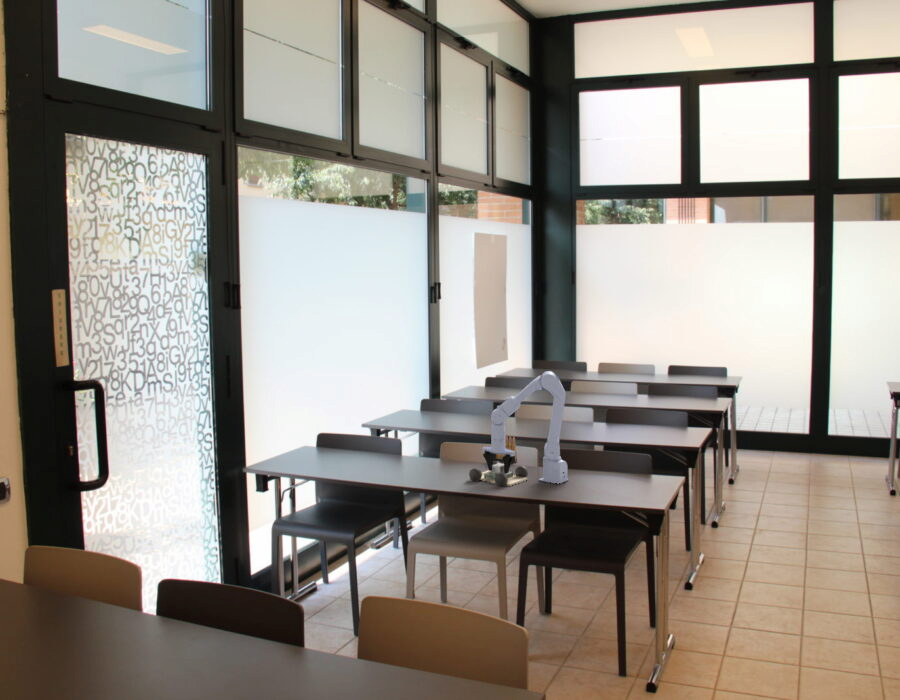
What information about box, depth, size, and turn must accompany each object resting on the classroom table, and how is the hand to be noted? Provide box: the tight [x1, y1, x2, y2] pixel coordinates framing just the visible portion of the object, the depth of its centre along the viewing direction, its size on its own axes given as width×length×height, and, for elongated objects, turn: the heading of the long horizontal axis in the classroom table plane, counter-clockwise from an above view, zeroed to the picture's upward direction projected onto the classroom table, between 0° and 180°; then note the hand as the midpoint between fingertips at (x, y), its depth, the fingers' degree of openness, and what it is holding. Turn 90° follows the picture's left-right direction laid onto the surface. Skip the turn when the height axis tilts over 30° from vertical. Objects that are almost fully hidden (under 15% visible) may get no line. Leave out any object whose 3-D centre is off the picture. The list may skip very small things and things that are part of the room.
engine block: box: [492, 462, 507, 475], centre depth 347 cm, size 4×5×5 cm
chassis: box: [468, 461, 529, 487], centre depth 347 cm, size 20×16×5 cm
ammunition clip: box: [493, 434, 518, 464], centre depth 377 cm, size 11×2×12 cm, turn 61°
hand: (498, 471), depth 347 cm, fingers open, 7 cm apart
